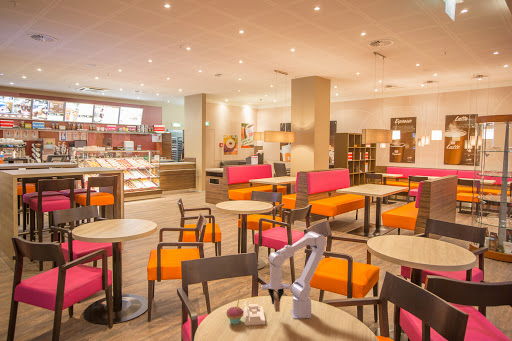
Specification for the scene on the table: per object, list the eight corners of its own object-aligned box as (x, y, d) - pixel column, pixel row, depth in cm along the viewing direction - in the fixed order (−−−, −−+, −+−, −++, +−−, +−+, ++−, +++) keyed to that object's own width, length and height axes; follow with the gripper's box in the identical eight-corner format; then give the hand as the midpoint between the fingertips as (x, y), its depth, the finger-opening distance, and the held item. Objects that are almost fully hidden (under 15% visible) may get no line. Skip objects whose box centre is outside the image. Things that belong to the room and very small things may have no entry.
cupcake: (244, 317, 161) (244, 295, 160) (242, 327, 153) (242, 303, 152) (228, 316, 162) (228, 294, 161) (224, 326, 154) (224, 302, 153)
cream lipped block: (262, 310, 168) (262, 302, 168) (265, 324, 155) (265, 314, 155) (243, 311, 167) (243, 302, 167) (245, 325, 154) (245, 315, 154)
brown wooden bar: (276, 300, 163) (276, 291, 163) (279, 311, 152) (279, 301, 152) (271, 300, 163) (271, 291, 163) (275, 311, 152) (275, 301, 152)
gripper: (288, 273, 161) (288, 298, 162) (260, 274, 160) (260, 299, 161) (291, 278, 154) (291, 305, 155) (262, 279, 153) (262, 306, 154)
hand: (275, 303), depth 158 cm, fingers closed on brown wooden bar, 2 cm apart
